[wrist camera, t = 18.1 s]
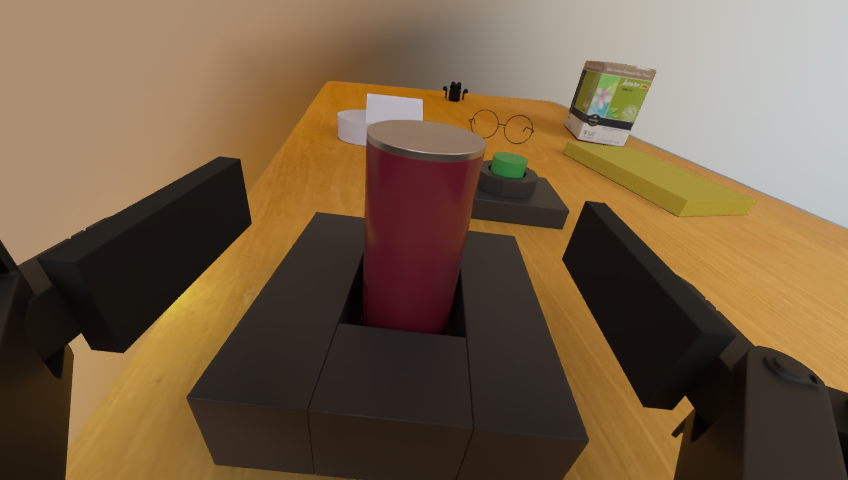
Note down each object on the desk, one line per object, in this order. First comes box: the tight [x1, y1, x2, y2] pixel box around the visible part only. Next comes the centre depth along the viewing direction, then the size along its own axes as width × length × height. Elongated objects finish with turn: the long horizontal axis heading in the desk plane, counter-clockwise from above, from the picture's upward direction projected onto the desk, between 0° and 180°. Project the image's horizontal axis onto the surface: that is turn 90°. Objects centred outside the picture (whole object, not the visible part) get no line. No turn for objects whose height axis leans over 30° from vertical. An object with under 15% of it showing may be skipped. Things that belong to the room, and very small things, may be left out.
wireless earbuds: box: [443, 82, 468, 102], centre depth 95 cm, size 7×2×5 cm, turn 86°
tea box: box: [565, 61, 656, 147], centre depth 72 cm, size 15×10×15 cm
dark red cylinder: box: [362, 120, 486, 335], centre depth 16 cm, size 5×5×12 cm
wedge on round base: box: [337, 94, 423, 146], centre depth 53 cm, size 9×7×13 cm
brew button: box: [490, 152, 528, 178], centre depth 36 cm, size 4×4×2 cm
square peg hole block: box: [187, 212, 589, 480], centre depth 18 cm, size 14×14×4 cm
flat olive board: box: [564, 141, 757, 217], centre depth 52 cm, size 12×2×24 cm
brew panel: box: [471, 160, 569, 229], centre depth 37 cm, size 12×9×4 cm
